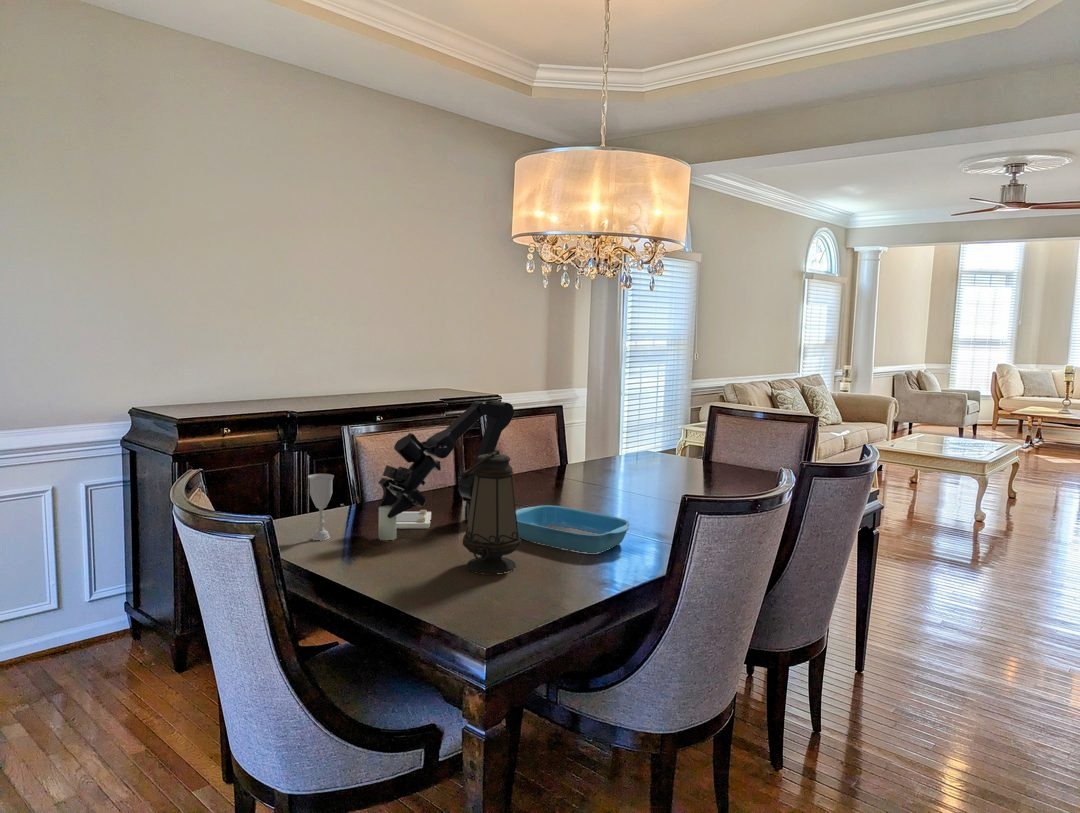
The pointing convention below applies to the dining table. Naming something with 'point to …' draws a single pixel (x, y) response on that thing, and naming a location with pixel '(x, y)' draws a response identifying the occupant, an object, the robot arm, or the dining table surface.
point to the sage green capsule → (387, 524)
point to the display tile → (414, 519)
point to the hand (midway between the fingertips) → (383, 515)
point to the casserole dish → (538, 518)
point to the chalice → (321, 499)
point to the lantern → (491, 515)
